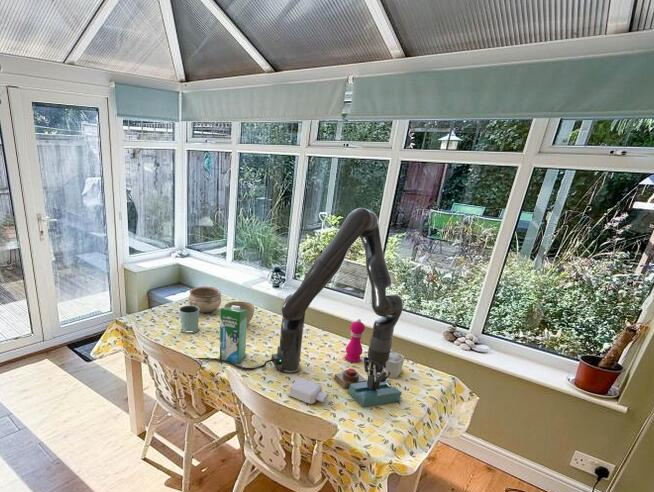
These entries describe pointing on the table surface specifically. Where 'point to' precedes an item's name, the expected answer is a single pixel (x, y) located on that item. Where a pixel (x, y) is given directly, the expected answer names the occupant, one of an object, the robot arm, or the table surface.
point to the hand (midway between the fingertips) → (372, 386)
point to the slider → (370, 382)
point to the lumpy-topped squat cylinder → (394, 364)
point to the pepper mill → (355, 342)
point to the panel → (349, 379)
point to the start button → (351, 372)
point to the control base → (374, 393)
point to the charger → (308, 391)
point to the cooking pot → (205, 298)
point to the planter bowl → (245, 306)
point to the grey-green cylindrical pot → (189, 318)
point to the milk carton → (233, 333)
